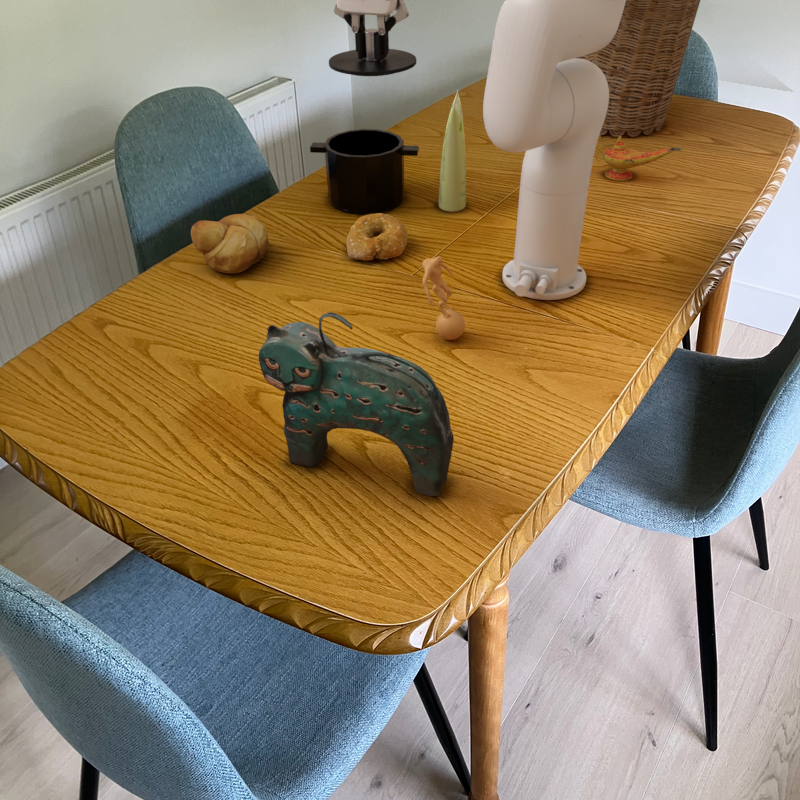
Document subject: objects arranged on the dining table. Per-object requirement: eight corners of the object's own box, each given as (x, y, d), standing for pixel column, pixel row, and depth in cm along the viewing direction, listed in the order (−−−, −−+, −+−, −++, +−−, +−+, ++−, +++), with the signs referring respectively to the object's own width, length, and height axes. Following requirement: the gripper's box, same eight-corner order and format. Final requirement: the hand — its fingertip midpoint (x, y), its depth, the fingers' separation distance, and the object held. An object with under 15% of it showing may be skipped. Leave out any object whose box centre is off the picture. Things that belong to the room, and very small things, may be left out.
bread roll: (244, 237, 130) (237, 192, 125) (289, 250, 126) (284, 204, 121) (191, 269, 122) (181, 222, 117) (238, 284, 118) (230, 236, 113)
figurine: (453, 356, 102) (456, 276, 94) (411, 347, 104) (410, 268, 96) (473, 324, 108) (476, 247, 100) (432, 316, 110) (433, 239, 102)
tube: (473, 209, 138) (478, 97, 126) (450, 216, 136) (453, 103, 124) (454, 198, 142) (457, 88, 129) (432, 205, 139) (433, 94, 127)
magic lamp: (671, 191, 143) (684, 131, 136) (576, 175, 149) (584, 118, 142) (678, 177, 147) (691, 119, 141) (586, 163, 154) (594, 107, 147)
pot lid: (411, 80, 124) (411, 42, 120) (321, 78, 125) (318, 41, 122) (420, 55, 135) (420, 20, 132) (337, 54, 137) (335, 19, 133)
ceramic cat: (271, 465, 86) (246, 312, 73) (297, 430, 90) (278, 280, 78) (440, 510, 80) (443, 352, 68) (458, 469, 85) (465, 315, 72)
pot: (413, 216, 136) (413, 158, 129) (307, 212, 138) (302, 154, 131) (422, 185, 146) (422, 130, 140) (323, 182, 149) (319, 127, 142)
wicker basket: (717, 148, 159) (761, -34, 138) (547, 150, 160) (566, -31, 139) (672, 96, 186) (703, -62, 166) (527, 98, 187) (541, -59, 167)
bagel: (331, 252, 126) (329, 225, 123) (377, 229, 132) (377, 203, 129) (374, 271, 120) (373, 244, 117) (421, 247, 127) (421, 220, 124)
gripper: (309, -68, 118) (319, 59, 129) (408, -64, 113) (409, 68, 124) (331, -74, 123) (338, 48, 134) (425, -71, 118) (425, 56, 130)
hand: (372, 57), depth 129 cm, fingers closed on pot lid, 2 cm apart
